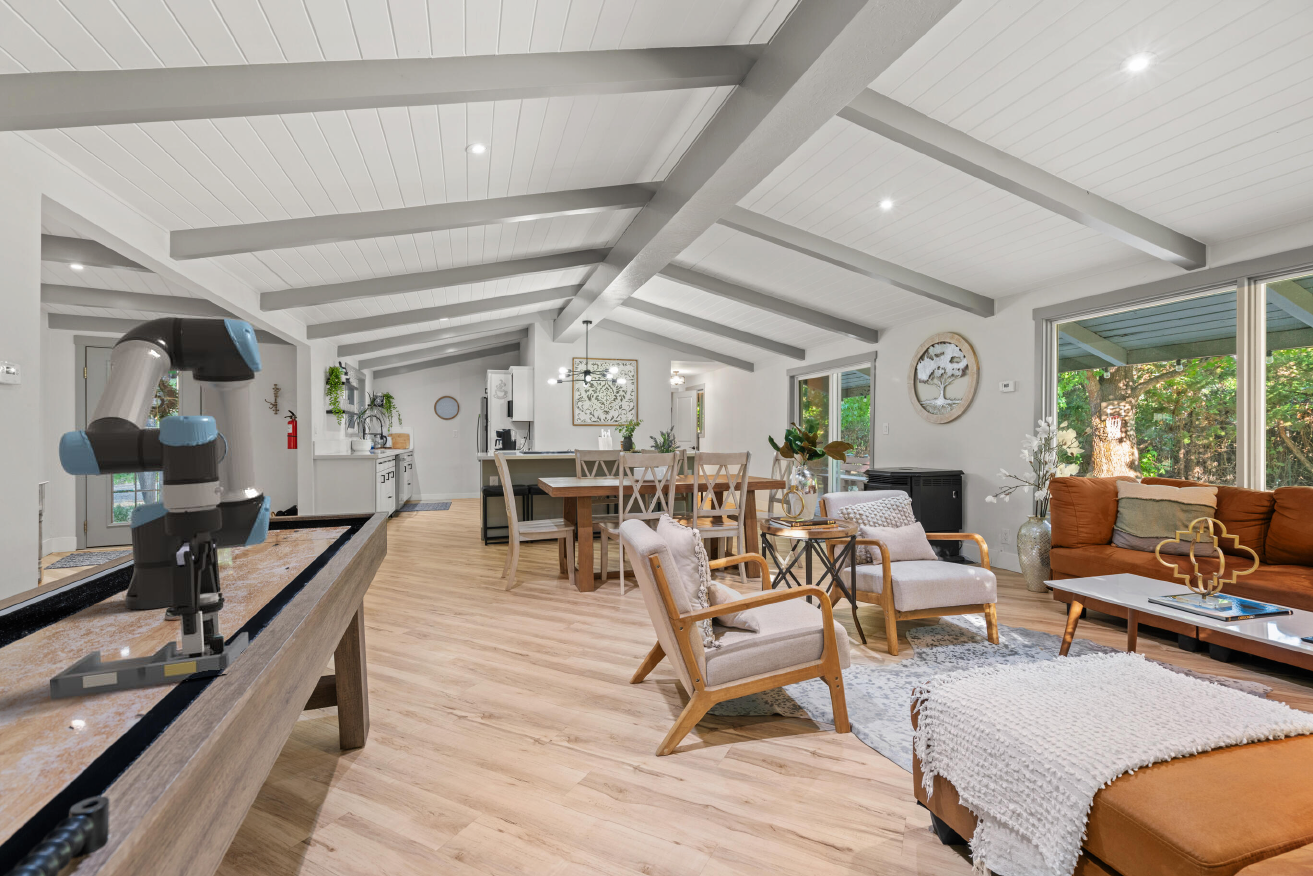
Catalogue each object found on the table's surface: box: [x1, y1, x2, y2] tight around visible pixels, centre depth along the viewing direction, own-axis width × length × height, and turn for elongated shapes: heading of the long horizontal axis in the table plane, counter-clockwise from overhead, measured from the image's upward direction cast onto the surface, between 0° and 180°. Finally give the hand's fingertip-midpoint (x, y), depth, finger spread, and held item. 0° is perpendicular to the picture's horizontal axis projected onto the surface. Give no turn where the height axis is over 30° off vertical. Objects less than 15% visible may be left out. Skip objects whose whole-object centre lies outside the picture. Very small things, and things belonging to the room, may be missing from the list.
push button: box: [177, 592, 226, 658], centre depth 103 cm, size 7×5×10 cm
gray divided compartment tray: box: [49, 631, 250, 701], centre depth 100 cm, size 12×22×3 cm, turn 110°
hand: (201, 645), depth 103 cm, fingers open, 6 cm apart
